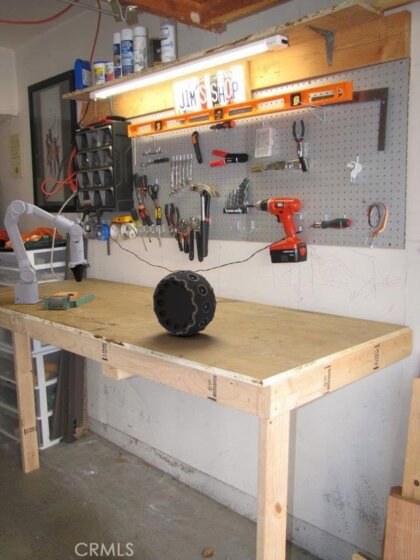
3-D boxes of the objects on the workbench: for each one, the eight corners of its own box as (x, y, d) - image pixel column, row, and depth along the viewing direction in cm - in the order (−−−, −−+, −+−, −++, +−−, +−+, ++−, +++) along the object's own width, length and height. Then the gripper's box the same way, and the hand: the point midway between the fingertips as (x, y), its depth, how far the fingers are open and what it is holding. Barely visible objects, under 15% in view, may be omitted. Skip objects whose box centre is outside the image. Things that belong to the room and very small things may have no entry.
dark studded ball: (173, 326, 169) (171, 267, 166) (221, 335, 157) (219, 270, 154) (150, 333, 161) (147, 271, 158) (198, 343, 149) (196, 275, 146)
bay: (39, 309, 205) (38, 294, 204) (66, 298, 229) (65, 284, 228) (72, 309, 203) (71, 294, 202) (95, 298, 226) (94, 284, 225)
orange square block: (52, 307, 211) (51, 295, 210) (61, 303, 219) (60, 292, 218) (71, 307, 209) (70, 295, 209) (78, 303, 217) (78, 292, 216)
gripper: (78, 252, 217) (80, 284, 219) (92, 249, 231) (93, 279, 233) (63, 252, 218) (65, 284, 220) (77, 249, 232) (79, 279, 234)
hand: (78, 281), depth 226 cm, fingers closed
